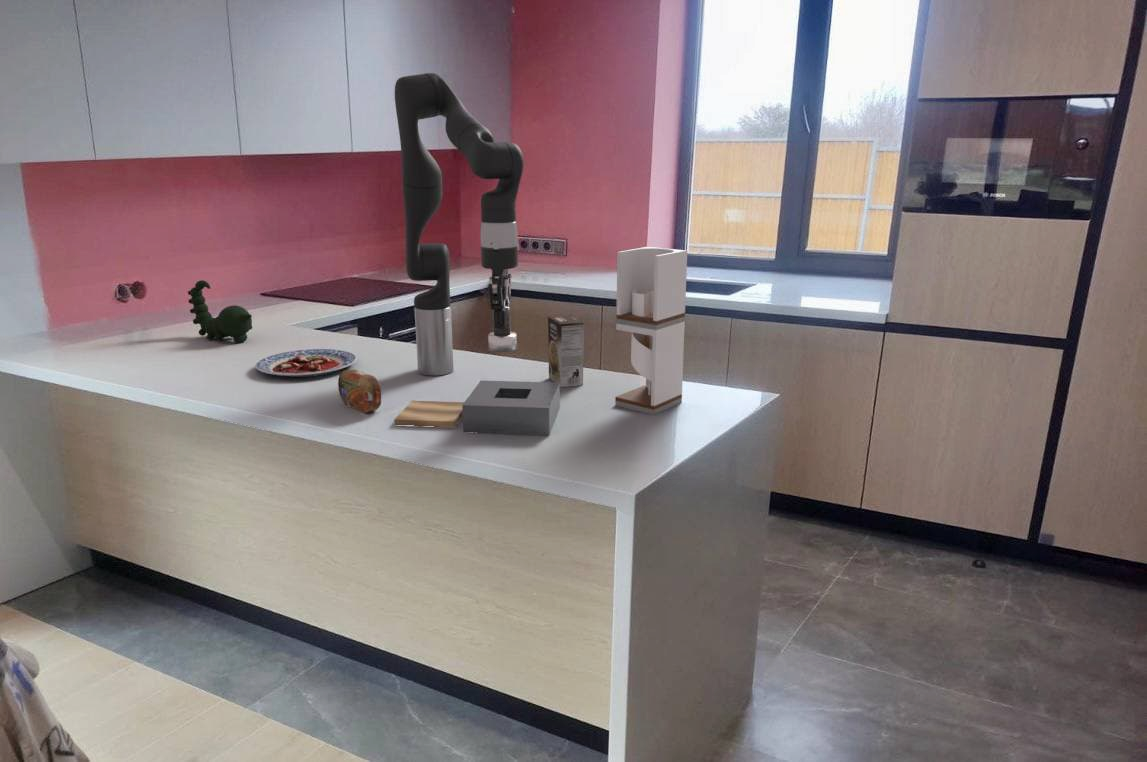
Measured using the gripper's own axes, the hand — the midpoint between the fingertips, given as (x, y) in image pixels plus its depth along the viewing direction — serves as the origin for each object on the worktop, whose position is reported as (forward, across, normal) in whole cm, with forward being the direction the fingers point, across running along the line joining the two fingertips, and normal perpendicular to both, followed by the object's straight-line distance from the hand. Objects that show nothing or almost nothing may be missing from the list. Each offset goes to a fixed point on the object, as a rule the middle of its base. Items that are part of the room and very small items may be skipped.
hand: (501, 325), depth 171 cm
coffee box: (+21, -29, +11) cm, 38 cm away
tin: (+21, -5, -34) cm, 40 cm away
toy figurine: (+22, -65, -97) cm, 118 cm away
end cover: (+5, 0, 0) cm, 5 cm away
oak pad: (+21, 0, -16) cm, 26 cm away
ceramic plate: (+22, -36, -59) cm, 73 cm away
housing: (+21, +1, +2) cm, 21 cm away
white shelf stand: (+21, -13, +32) cm, 40 cm away
